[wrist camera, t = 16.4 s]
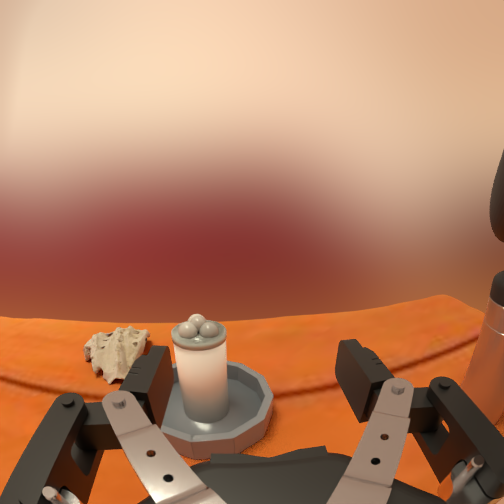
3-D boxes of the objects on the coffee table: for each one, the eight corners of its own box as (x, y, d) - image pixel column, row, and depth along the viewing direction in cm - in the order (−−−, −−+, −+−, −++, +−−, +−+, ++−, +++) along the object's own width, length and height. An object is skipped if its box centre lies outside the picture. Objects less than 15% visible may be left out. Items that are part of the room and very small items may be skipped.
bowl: (252, 371, 43) (252, 354, 42) (287, 446, 26) (290, 428, 26) (148, 379, 39) (144, 361, 38) (141, 460, 23) (133, 442, 22)
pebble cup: (225, 392, 36) (221, 304, 33) (233, 421, 30) (230, 326, 28) (182, 395, 35) (170, 307, 32) (184, 425, 29) (168, 330, 26)
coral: (126, 387, 36) (119, 359, 35) (72, 370, 38) (64, 344, 37) (164, 344, 51) (161, 320, 50) (115, 335, 52) (111, 313, 52)
